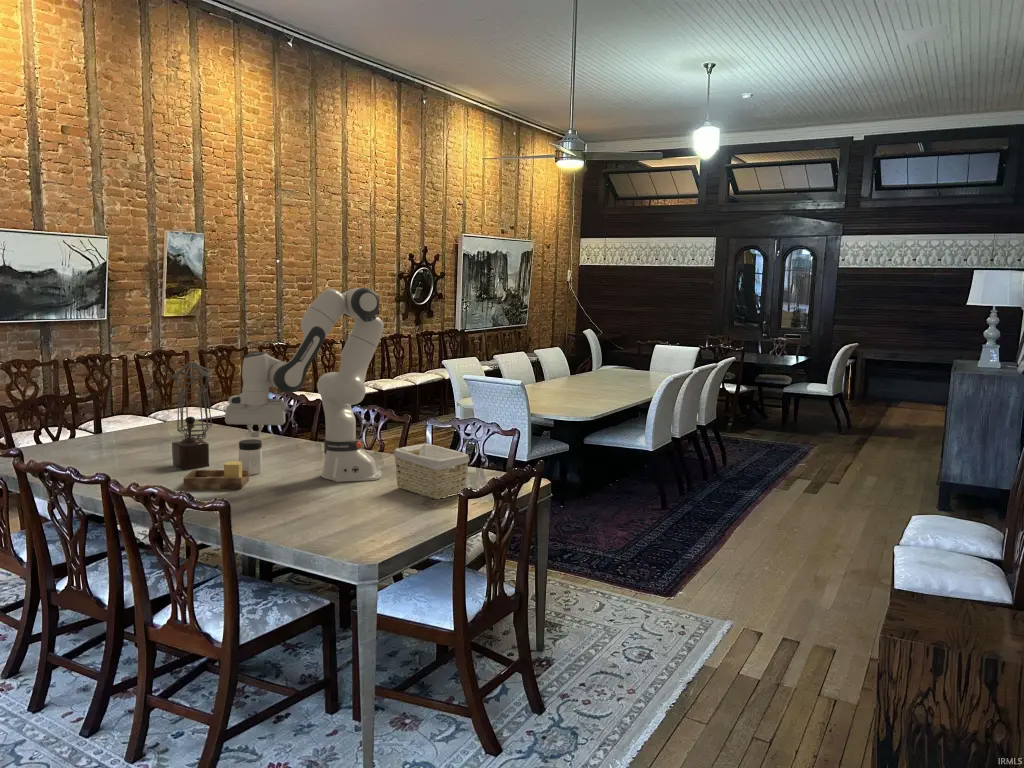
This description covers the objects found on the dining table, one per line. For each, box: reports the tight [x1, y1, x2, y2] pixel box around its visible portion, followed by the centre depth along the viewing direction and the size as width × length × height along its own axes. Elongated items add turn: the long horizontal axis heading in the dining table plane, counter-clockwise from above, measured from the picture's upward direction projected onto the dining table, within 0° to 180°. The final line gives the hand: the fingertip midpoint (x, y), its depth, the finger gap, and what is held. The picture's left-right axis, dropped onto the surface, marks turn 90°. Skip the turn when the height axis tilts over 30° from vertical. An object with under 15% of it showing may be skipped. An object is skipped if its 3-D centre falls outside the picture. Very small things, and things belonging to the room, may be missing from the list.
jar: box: [238, 438, 263, 476], centre depth 288 cm, size 9×8×12 cm
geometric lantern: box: [170, 361, 213, 440], centre depth 345 cm, size 16×16×35 cm
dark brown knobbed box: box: [171, 416, 210, 471], centre depth 296 cm, size 16×11×18 cm
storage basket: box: [393, 443, 470, 500], centre depth 270 cm, size 24×16×15 cm
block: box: [223, 460, 242, 478], centre depth 269 cm, size 5×5×6 cm
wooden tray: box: [182, 469, 250, 491], centre depth 269 cm, size 19×12×4 cm, turn 97°
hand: (255, 436), depth 268 cm, fingers closed
